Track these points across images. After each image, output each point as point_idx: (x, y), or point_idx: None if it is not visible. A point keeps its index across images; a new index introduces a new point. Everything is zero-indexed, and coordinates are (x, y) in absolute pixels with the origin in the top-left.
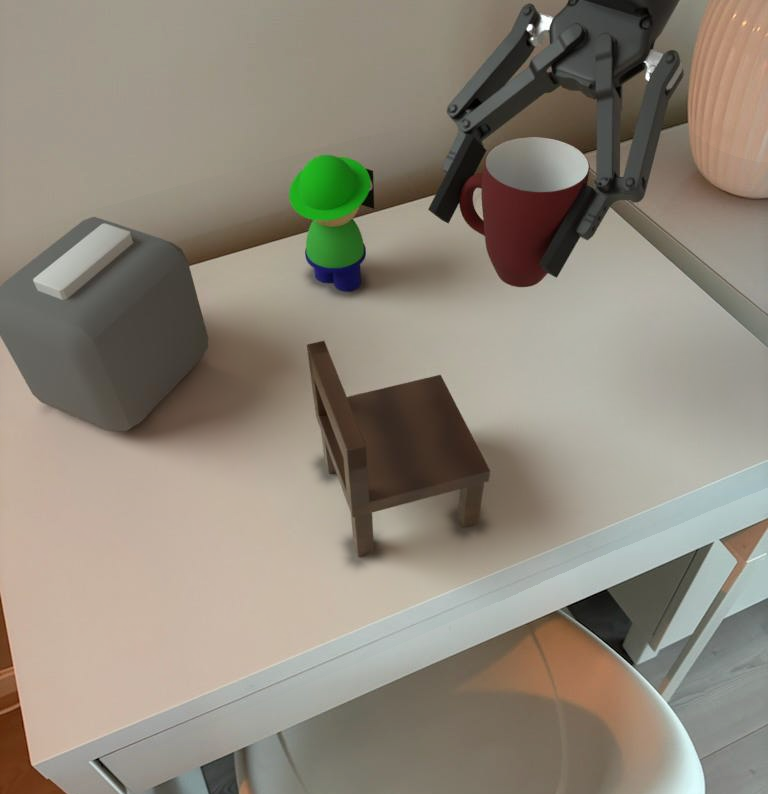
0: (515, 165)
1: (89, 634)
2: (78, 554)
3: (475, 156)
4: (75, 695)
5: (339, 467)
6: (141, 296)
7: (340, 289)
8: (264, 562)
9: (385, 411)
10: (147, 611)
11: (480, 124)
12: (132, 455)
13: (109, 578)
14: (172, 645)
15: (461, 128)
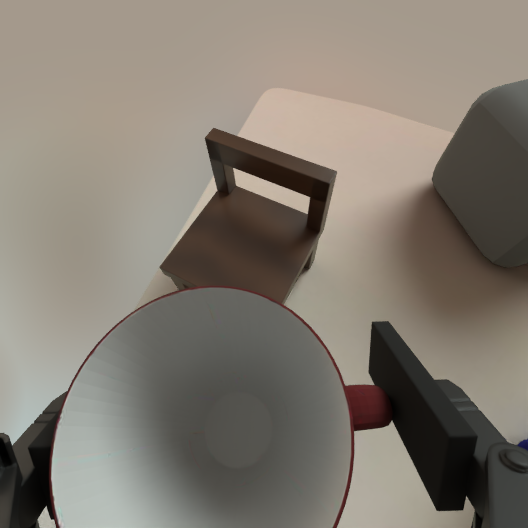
0: (321, 496)
1: (307, 116)
2: (357, 131)
3: (425, 451)
4: (282, 101)
5: (257, 195)
6: (519, 144)
7: (525, 440)
8: (276, 188)
9: (274, 254)
10: (297, 136)
11: (485, 491)
12: (412, 179)
13: (331, 134)
14: (270, 135)
15: (511, 445)
